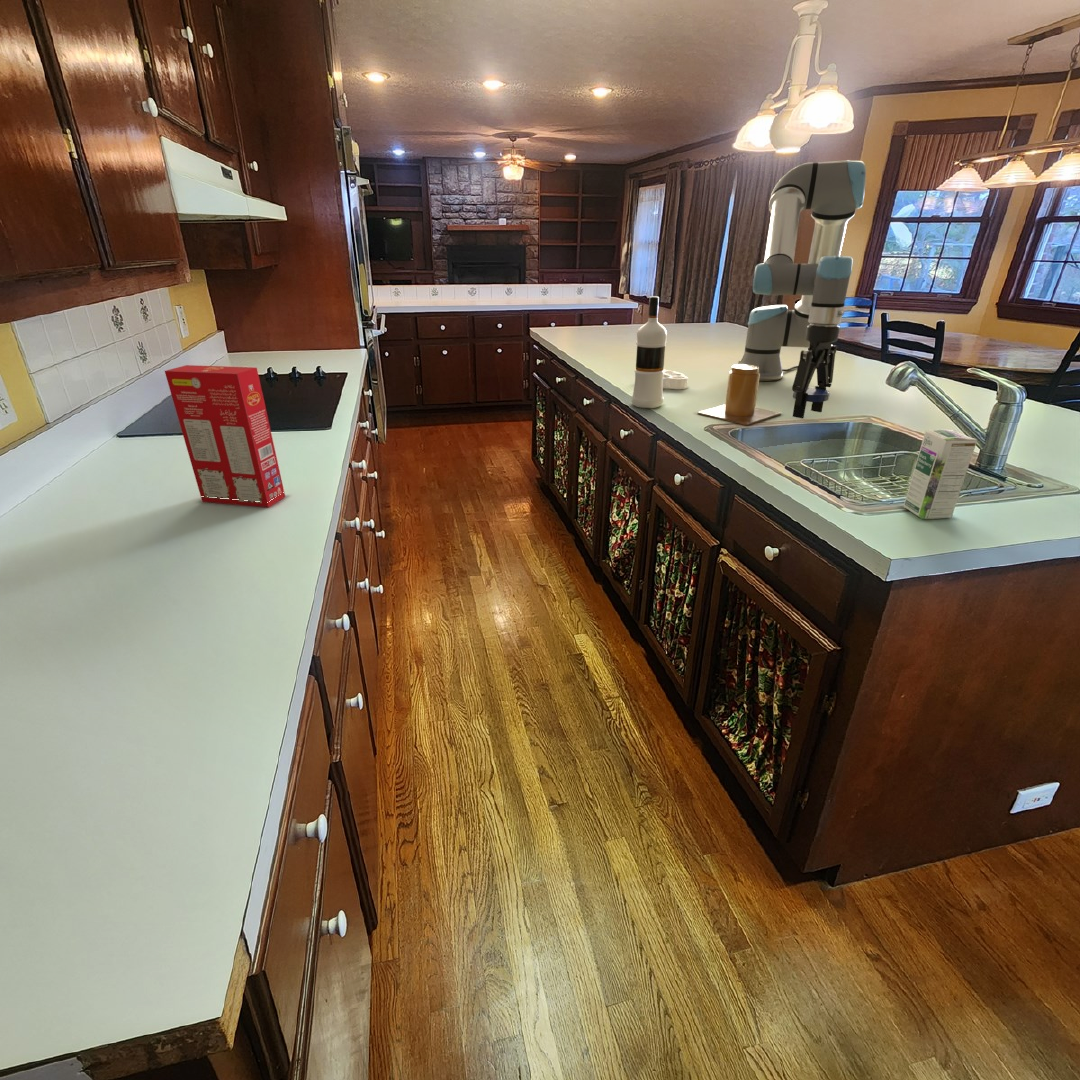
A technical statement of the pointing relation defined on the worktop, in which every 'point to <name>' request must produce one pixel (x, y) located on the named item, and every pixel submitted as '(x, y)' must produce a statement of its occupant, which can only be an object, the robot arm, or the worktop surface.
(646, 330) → the vodka
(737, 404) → the jar
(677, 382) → the white brass knuckles
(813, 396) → the lid
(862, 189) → the robot arm
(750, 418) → the trivet
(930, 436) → the syrup box
